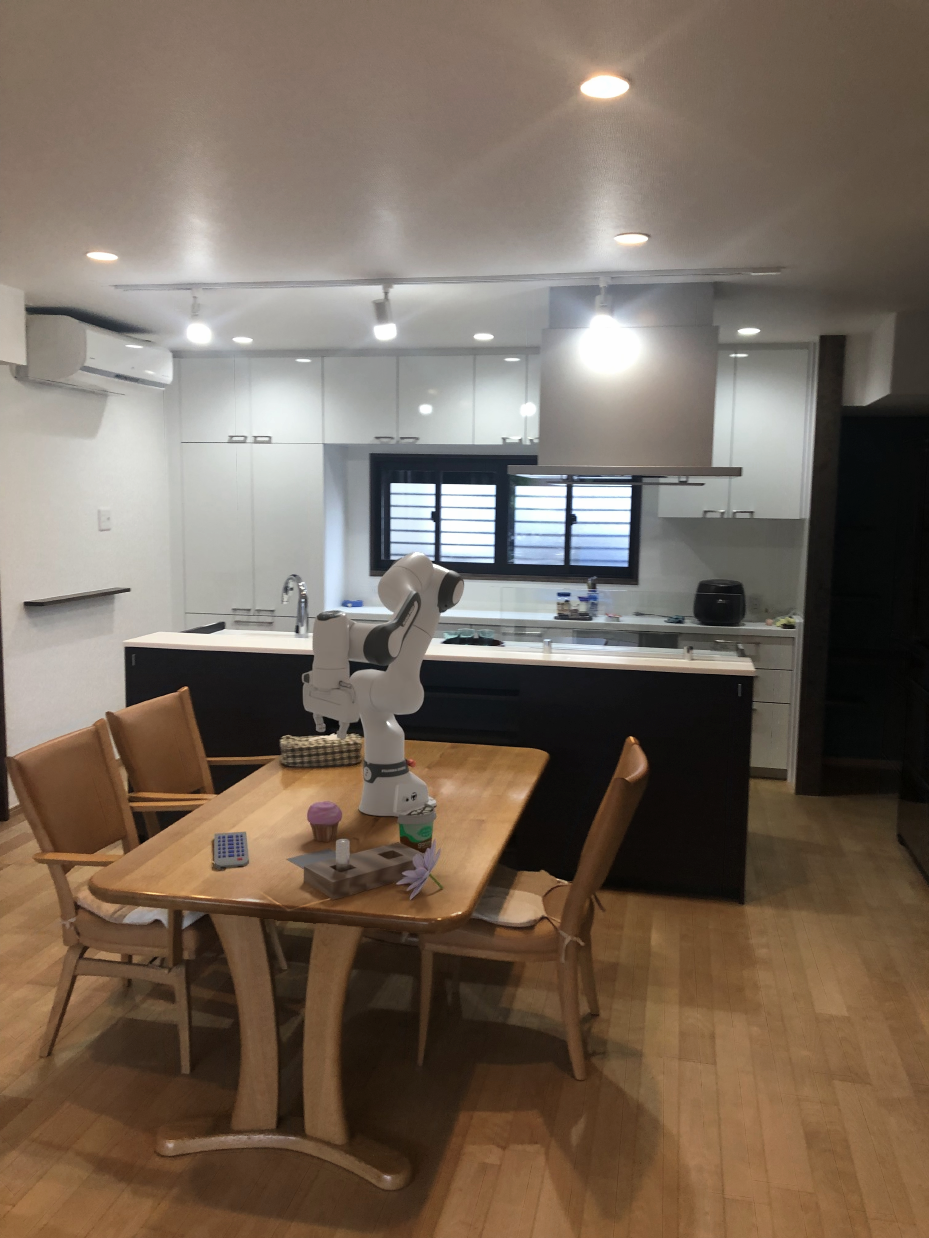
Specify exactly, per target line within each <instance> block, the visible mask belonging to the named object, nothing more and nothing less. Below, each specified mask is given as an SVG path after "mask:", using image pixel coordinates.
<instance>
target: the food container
mask: <svg viewBox="0 0 929 1238" xmlns="http://www.w3.org/2000/svg"><path fill="white" fill-rule="evenodd" d="M437 817H438V816H437V812H436V809H435V806H432V805H430V804H426V803H425V804H424V807H423V808H421V809H418V810H413V811H411V812H410V813H408V814H407V815H400V814H399V817H397V821H396V822H397V824H398V830H399V832H398V833H399V843H401V844H403V845H406V846H408V847H410V848H412V849H415V850H417V851H419V852H421V853H423V854H425V852H426V850H427V848H430V849H431V846H432V843H433V832H434V821H435V820H436V819H437Z"/></svg>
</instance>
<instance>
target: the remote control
mask: <svg viewBox="0 0 929 1238" xmlns="http://www.w3.org/2000/svg"><path fill="white" fill-rule="evenodd" d="M213 836H214V837H213V839H214V841H213V842H214V845H213V849H214V850H213V851H214V852H213V854H214V855H213V859H214V860H213V861H214V864H213V865H214V867H215V869H216V870H218V869H219V871H226V869H227V868H229V869H230V868H238V867H242V866H243V867H247V866H248V865H249V864H250V856H249V855H250V854H249V845H248V837H247V831H234V832H232V831H231V832H222V833H221V832H219V833H214V835H213Z"/></svg>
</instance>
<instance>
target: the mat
mask: <svg viewBox="0 0 929 1238" xmlns="http://www.w3.org/2000/svg"><path fill="white" fill-rule="evenodd" d="M334 858H336V850H334V849H331V848H325V849H322V850H321V849H320V850H316V851H313V852H309V853H306V854H305V853H304V854H300V855H297V856H292V857H289V858H286V861H289V862H290V863H292V864H294V865H295V866H298V867H299V868H301V869H303V870H304V866H306V865H310V864H314V863H318V862H322V861H326V860H330V859H334Z"/></svg>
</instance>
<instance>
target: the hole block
mask: <svg viewBox="0 0 929 1238" xmlns="http://www.w3.org/2000/svg"><path fill="white" fill-rule="evenodd" d="M416 854H419V855H421V856H422V858H423V859H424V856H425V853H421V852H419V851H417V850H415V849H412V848H410V847H408V846H406V845H403V844H401V843H400V841H398V842H393V843H388V844H386V845H385V844H384V845H381V846H377V847H373V848H370V849H365V850H362V851H357V852H354V853H349V870H348V871H344V872H338V871H336V858H334V859H330V860H326V861H322V862H318V863H314V864H310V865H306V866H304V869H303V883H305V884H307V885H308V886H311V887H312V888H313V889H315V890H317V891H318V892H320V893H322V894H324V895H325V896H327V897H328V899H330V900H331V901H334V900H337V899H342V898H345V897H348V896H353V895H355V894H359V893H363V892H365V891H370V890H373V889H377V888H380V887H383V886H386V885H390V884H393V883H398V882H399V881H400V880H402V879H404V877H408V876H406V875H404V874H402V873H403V872H405V871H408V870H416V869H417V868H416V867H415V866H414V864H413V857H414V856H416Z"/></svg>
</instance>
